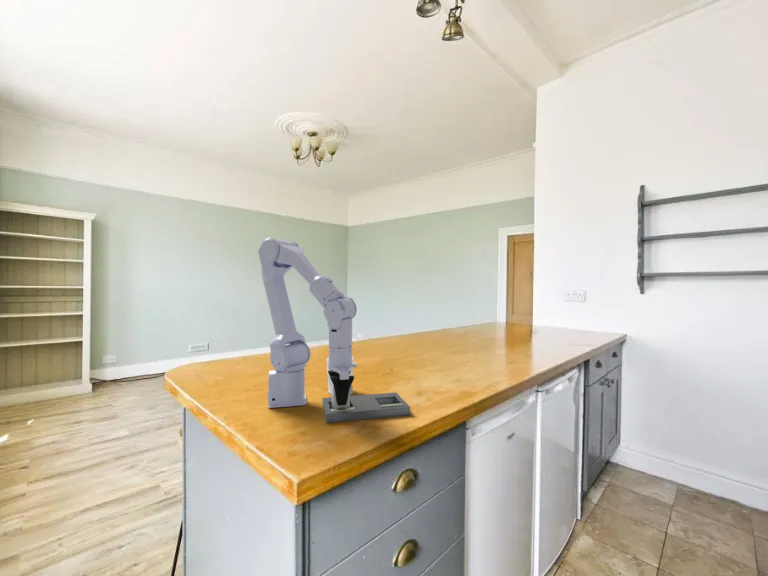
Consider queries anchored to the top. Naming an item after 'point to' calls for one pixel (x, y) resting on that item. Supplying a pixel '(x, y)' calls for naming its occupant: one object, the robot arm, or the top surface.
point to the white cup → (330, 379)
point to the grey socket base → (366, 407)
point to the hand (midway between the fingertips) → (340, 401)
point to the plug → (334, 402)
